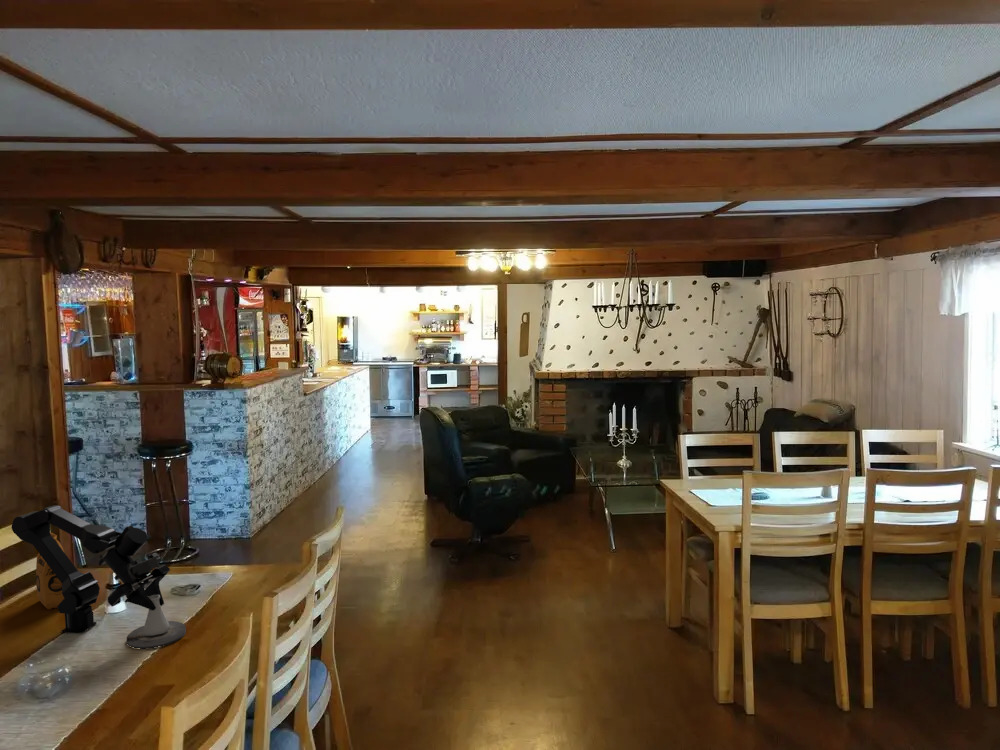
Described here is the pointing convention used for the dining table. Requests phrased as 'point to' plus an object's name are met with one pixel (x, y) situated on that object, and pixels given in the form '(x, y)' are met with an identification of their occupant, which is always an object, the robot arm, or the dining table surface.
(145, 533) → the robot arm
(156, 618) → the flask
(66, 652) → the dining table surface
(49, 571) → the coffee package
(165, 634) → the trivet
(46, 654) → the dining table surface
